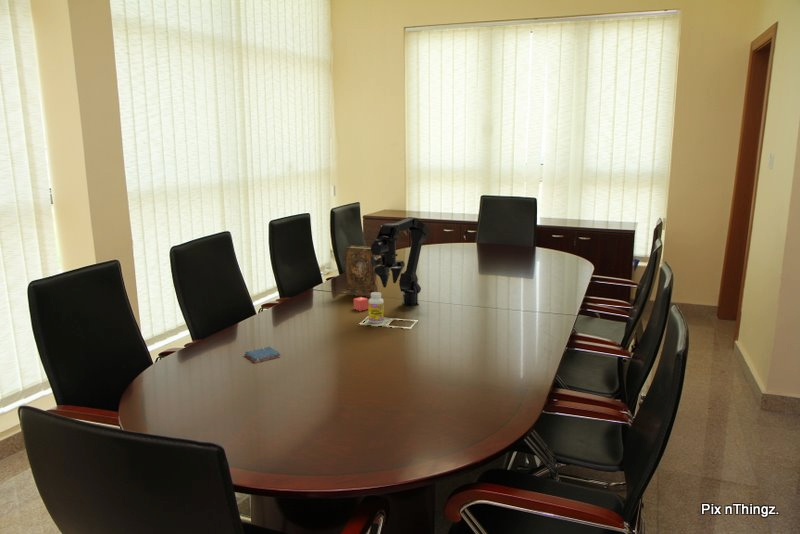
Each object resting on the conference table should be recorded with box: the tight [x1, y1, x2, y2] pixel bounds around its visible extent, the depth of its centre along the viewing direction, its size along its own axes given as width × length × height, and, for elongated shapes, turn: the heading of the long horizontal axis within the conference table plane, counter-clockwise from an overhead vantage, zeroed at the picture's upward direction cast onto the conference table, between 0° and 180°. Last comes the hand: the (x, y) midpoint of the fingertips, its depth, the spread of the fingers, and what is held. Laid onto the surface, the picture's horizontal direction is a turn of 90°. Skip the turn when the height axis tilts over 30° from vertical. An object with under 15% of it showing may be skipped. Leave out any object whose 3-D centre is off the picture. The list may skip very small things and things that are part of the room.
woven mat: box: [244, 346, 281, 364], centre depth 227 cm, size 10×11×2 cm
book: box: [344, 245, 379, 298], centre depth 311 cm, size 16×6×25 cm, turn 68°
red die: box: [353, 296, 369, 312], centre depth 287 cm, size 5×5×6 cm
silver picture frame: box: [358, 315, 419, 330], centre depth 266 cm, size 23×12×1 cm, turn 73°
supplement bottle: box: [368, 291, 385, 323], centre depth 267 cm, size 7×7×13 cm
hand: (389, 285), depth 280 cm, fingers open, 9 cm apart
